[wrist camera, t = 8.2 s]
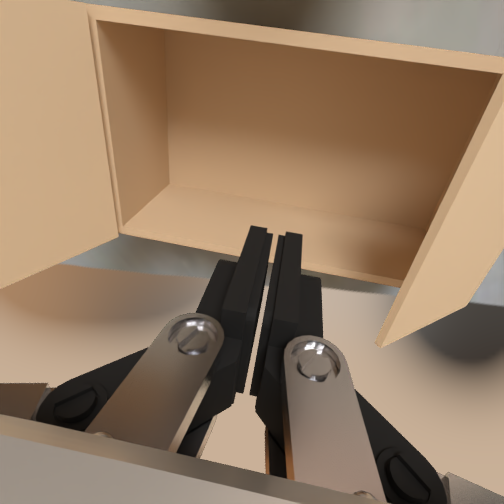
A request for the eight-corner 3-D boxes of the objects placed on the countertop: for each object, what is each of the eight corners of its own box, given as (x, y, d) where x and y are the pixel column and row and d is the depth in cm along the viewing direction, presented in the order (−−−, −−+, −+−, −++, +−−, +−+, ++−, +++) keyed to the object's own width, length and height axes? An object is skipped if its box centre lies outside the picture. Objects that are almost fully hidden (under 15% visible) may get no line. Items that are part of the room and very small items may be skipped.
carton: (509, 62, 21) (613, 71, 14) (426, 235, 28) (464, 302, 21) (159, 16, 23) (82, 2, 16) (166, 188, 30) (116, 234, 23)
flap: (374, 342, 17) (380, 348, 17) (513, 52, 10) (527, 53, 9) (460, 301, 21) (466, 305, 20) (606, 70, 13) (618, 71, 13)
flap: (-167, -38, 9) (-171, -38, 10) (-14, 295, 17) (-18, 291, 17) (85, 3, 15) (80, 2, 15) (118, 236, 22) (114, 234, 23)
